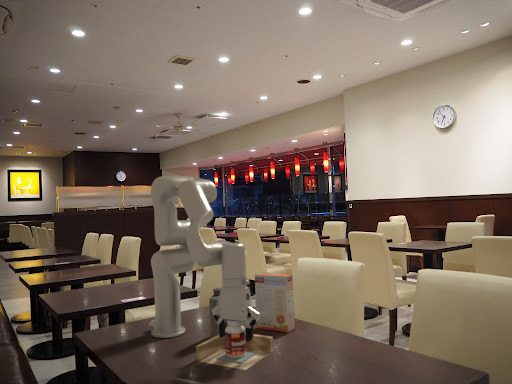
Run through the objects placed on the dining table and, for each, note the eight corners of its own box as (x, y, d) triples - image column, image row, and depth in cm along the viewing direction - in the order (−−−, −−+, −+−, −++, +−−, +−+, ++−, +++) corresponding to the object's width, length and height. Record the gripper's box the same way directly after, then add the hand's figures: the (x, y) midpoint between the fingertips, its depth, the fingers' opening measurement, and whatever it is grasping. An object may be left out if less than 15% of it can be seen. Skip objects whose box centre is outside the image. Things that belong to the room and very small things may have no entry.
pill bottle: (232, 360, 127) (230, 323, 127) (222, 354, 132) (221, 319, 132) (249, 355, 130) (248, 319, 131) (239, 350, 136) (238, 315, 136)
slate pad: (216, 359, 129) (216, 358, 129) (232, 350, 137) (232, 348, 137) (241, 363, 125) (241, 362, 125) (256, 354, 133) (256, 352, 133)
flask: (207, 345, 145) (205, 292, 145) (221, 332, 158) (219, 284, 159) (217, 345, 144) (215, 292, 144) (230, 333, 158) (229, 284, 158)
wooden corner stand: (196, 362, 129) (195, 346, 129) (227, 345, 144) (227, 330, 144) (245, 372, 120) (245, 354, 120) (273, 352, 135) (272, 336, 136)
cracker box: (295, 329, 160) (293, 273, 161) (288, 333, 155) (286, 276, 156) (264, 324, 168) (262, 271, 168) (256, 328, 162) (254, 274, 163)
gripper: (264, 282, 131) (266, 338, 130) (218, 279, 139) (219, 331, 139) (252, 287, 124) (254, 345, 124) (204, 283, 133) (206, 338, 132)
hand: (236, 338), depth 131 cm, fingers open, 9 cm apart
